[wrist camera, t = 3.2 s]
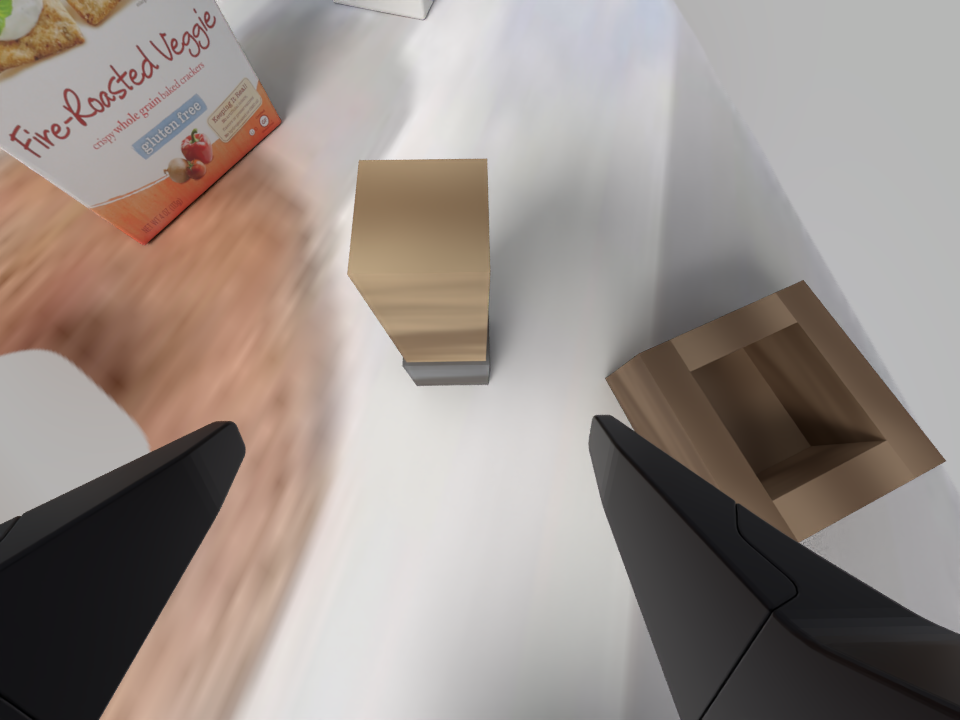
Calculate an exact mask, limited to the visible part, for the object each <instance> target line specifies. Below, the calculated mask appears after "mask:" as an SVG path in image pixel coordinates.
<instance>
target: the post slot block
mask: <svg viewBox="0 0 960 720" xmlns="http://www.w3.org/2000/svg"><path fill="white" fill-rule="evenodd" d="M605 379H606V381H607V382H608V384H609V386H610V388H611V390H612V391H613V393H614V395H615V397H616V398H617V400H618V402H619V404H620V406H621V407H622V409H623V411H624V413H625V414H626V416H627V418H628V420H629V422H630V423H631V425H632V427H633V429H634V431H635V432H636V433H638V434H639V435H640V436H642V437H643V438H645V439H646V440H648V441H649V442H651V443H652V444H653V445H655V446H656V447H658V448H659V449H661V450H662V451H664V452H665V453H667V454H668V455H669V456H671V457H672V458H674V459H675V460H677V461H678V462H680V463H681V464H683V465H684V466H685V467H687V468H688V469H690V470H691V471H693V472H694V473H696V474H697V475H698V476H700V477H701V478H703V479H704V480H706V481H707V482H709V483H710V484H712V485H713V486H714V487H716V488H717V489H719V490H720V491H722V492H723V493H725V494H726V495H728V496H729V497H730V498H732V499H733V500H735V502H736V504H737V503H739V504H741V505H742V506H744V507H745V508H747V509H748V510H749V511H751V512H752V513H754V514H755V515H757V516H758V517H760V518H761V519H763V520H764V521H766V522H767V523H769V524H770V525H772V526H773V527H775V528H776V529H778V530H779V531H781V532H782V533H784V534H785V535H787V536H789V537H790V538H792V539H793V540H795V541H797V542H798V543H799V542H801V541H802V540H804V539H806V538H808V537H810V536H811V535H813V534H815V533H817V532H819V531H820V530H822V529H824V528H826V527H828V526H830V525H831V524H833V523H835V522H837V521H839V520H840V519H842V518H844V517H846V516H848V515H849V514H851V513H853V512H855V511H857V510H859V509H860V508H862V507H864V506H866V505H868V504H869V503H871V502H873V501H875V500H877V499H878V498H880V497H882V496H884V495H886V494H887V493H889V492H891V491H893V490H895V489H897V488H898V487H900V486H902V485H904V484H906V483H907V482H909V481H911V480H913V479H915V478H916V477H918V476H920V475H922V474H924V473H926V472H927V471H929V470H931V469H933V468H935V467H936V466H938V465H940V464H942V463H944V462H945V461H946V460H945V459H944V458H943V456H942V455H941V454H940V453H939V452H938V450H937V449H936V448H935V446H934V445H933V444H932V442H931V441H930V440H929V439H928V437H927V436H926V435H925V434H924V432H923V431H922V430H921V429H920V427H919V426H918V425H917V423H916V422H915V421H914V420H913V418H912V417H911V416H910V415H909V413H908V412H907V411H906V409H905V408H904V407H903V406H902V404H901V403H900V402H899V401H898V399H897V398H896V397H895V396H894V394H893V393H892V392H891V390H890V389H889V388H888V387H887V385H886V384H885V383H884V382H883V380H882V379H881V378H880V377H879V375H878V374H877V373H876V371H875V370H874V369H873V368H872V366H871V365H870V364H869V363H868V361H867V360H866V359H865V358H864V356H863V355H862V354H861V352H860V351H859V350H858V349H857V347H856V346H855V345H854V344H853V342H852V341H851V340H850V338H849V337H848V336H847V335H846V333H845V332H844V331H843V330H842V328H841V327H840V326H839V325H838V323H837V322H836V321H835V319H834V318H833V317H832V316H831V314H830V313H829V312H828V311H827V309H826V308H825V307H824V306H823V304H822V303H821V302H820V300H819V299H818V298H817V297H816V295H815V294H814V293H813V292H812V290H811V289H810V288H809V286H808V285H807V284H806V283H805V281H804V280H802V281H800V282H798V283H796V284H794V285H791V286H789V287H787V288H785V289H782V290H780V291H778V292H776V293H773V294H771V295H769V296H767V297H764V298H762V299H760V300H758V301H756V302H753V303H751V304H749V305H747V306H744V307H742V308H740V309H738V310H735V311H733V312H731V313H729V314H726V315H724V316H722V317H720V318H718V319H715V320H713V321H711V322H709V323H706V324H704V325H702V326H700V327H697V328H695V329H693V330H691V331H688V332H686V333H684V334H682V335H680V336H677V337H675V338H673V339H671V340H668V341H666V342H664V343H662V344H659V345H657V346H655V347H653V348H650V349H648V350H646V351H644V352H642V353H639V354H638V355H636V356H635V357H634V358H632V359H631V360H630V361H628V362H627V363H626V364H624V365H623V366H622V367H620V368H619V369H618V370H616V371H615V372H614V373H612V374H611V375H609V376H608V377H607V378H605Z"/></svg>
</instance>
